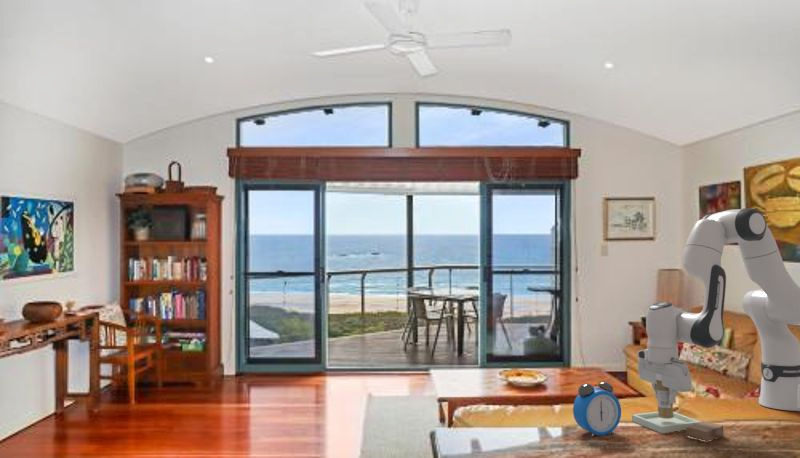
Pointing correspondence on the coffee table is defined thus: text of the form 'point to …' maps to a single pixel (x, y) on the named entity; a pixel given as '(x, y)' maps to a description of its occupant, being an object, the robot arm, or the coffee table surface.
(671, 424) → the dish
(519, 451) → the coffee table surface
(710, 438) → the walnut block
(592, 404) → the alarm clock
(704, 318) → the robot arm
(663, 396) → the sprinkles bottle
